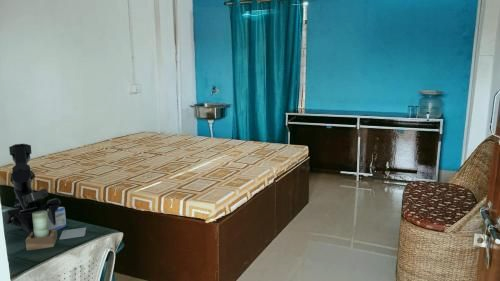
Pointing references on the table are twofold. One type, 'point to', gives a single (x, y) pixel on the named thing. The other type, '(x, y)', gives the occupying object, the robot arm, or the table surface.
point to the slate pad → (73, 233)
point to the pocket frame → (41, 240)
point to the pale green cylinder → (40, 224)
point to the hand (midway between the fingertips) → (42, 228)
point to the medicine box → (58, 219)
